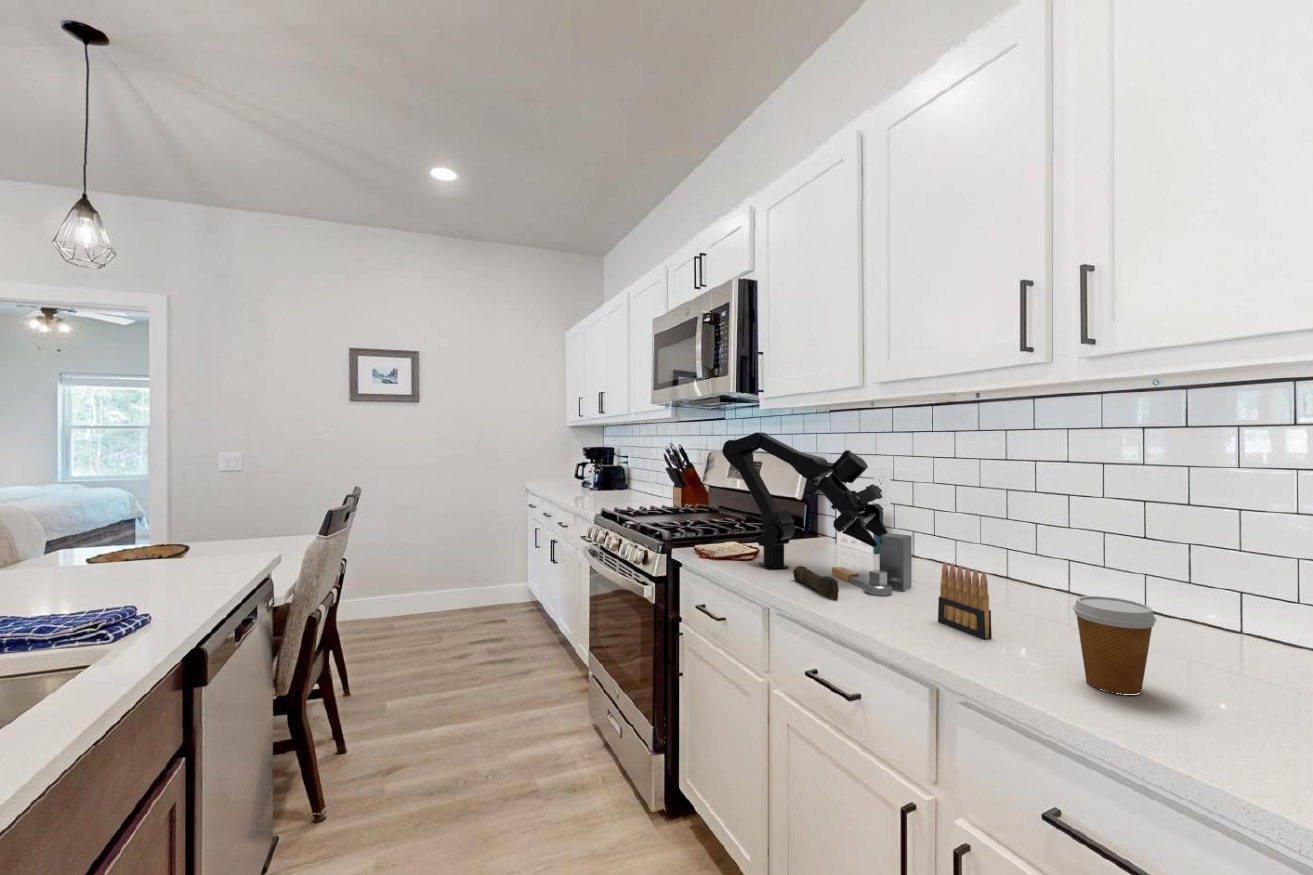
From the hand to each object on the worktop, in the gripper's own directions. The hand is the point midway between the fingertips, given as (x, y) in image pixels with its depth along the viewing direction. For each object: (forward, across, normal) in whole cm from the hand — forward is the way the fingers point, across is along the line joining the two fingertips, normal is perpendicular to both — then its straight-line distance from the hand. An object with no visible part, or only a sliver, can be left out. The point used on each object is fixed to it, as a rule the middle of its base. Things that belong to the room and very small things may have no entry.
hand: (882, 543), depth 141 cm
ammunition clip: (+24, -23, -9) cm, 34 cm away
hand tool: (+1, -14, +14) cm, 20 cm away
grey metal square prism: (+9, 0, +5) cm, 11 cm away
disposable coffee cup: (+40, -36, -25) cm, 59 cm away
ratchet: (+4, -3, +11) cm, 12 cm away
